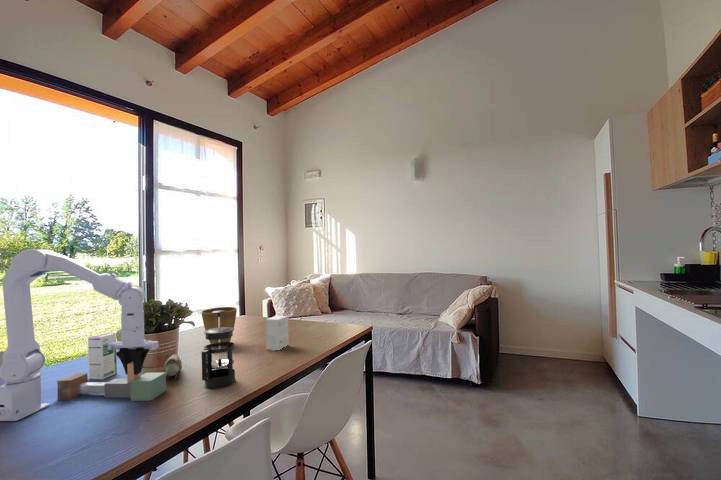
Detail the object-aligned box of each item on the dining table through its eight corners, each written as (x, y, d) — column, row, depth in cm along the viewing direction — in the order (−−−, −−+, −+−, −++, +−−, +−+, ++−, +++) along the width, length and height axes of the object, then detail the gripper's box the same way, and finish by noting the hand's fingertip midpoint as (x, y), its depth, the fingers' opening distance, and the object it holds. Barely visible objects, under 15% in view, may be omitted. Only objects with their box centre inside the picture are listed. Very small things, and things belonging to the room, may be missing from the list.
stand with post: (104, 397, 105) (104, 365, 105) (115, 392, 109) (114, 360, 109) (146, 397, 104) (146, 364, 104) (155, 392, 108) (155, 360, 108)
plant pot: (204, 343, 166) (203, 308, 166) (238, 339, 170) (237, 306, 171) (199, 351, 152) (199, 313, 152) (237, 347, 156) (236, 310, 156)
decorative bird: (183, 367, 131) (183, 347, 131) (180, 382, 116) (180, 358, 117) (166, 370, 129) (166, 349, 129) (161, 385, 114) (161, 361, 114)
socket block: (130, 400, 102) (130, 381, 103) (147, 390, 109) (147, 372, 110) (150, 400, 102) (150, 380, 102) (166, 390, 109) (165, 372, 109)
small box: (276, 345, 159) (275, 315, 159) (289, 345, 156) (288, 315, 157) (265, 350, 151) (265, 318, 151) (278, 351, 149) (278, 319, 149)
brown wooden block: (57, 399, 105) (57, 380, 105) (75, 391, 111) (75, 373, 111) (70, 399, 104) (70, 380, 105) (87, 391, 110) (87, 373, 111)
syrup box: (102, 379, 120) (102, 336, 121) (87, 379, 122) (87, 336, 122) (117, 373, 126) (116, 332, 126) (103, 373, 127) (102, 332, 128)
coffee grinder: (221, 376, 121) (220, 307, 121) (243, 379, 117) (242, 308, 117) (192, 388, 110) (191, 313, 110) (216, 392, 106) (214, 314, 107)
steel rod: (75, 393, 106) (75, 385, 106) (82, 390, 109) (82, 382, 109) (117, 393, 105) (117, 385, 105) (123, 390, 108) (123, 382, 108)
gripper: (164, 324, 110) (165, 368, 110) (119, 324, 111) (120, 369, 111) (149, 329, 103) (150, 377, 103) (101, 330, 104) (102, 377, 104)
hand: (133, 373), depth 106 cm, fingers closed on stand with post, 2 cm apart
